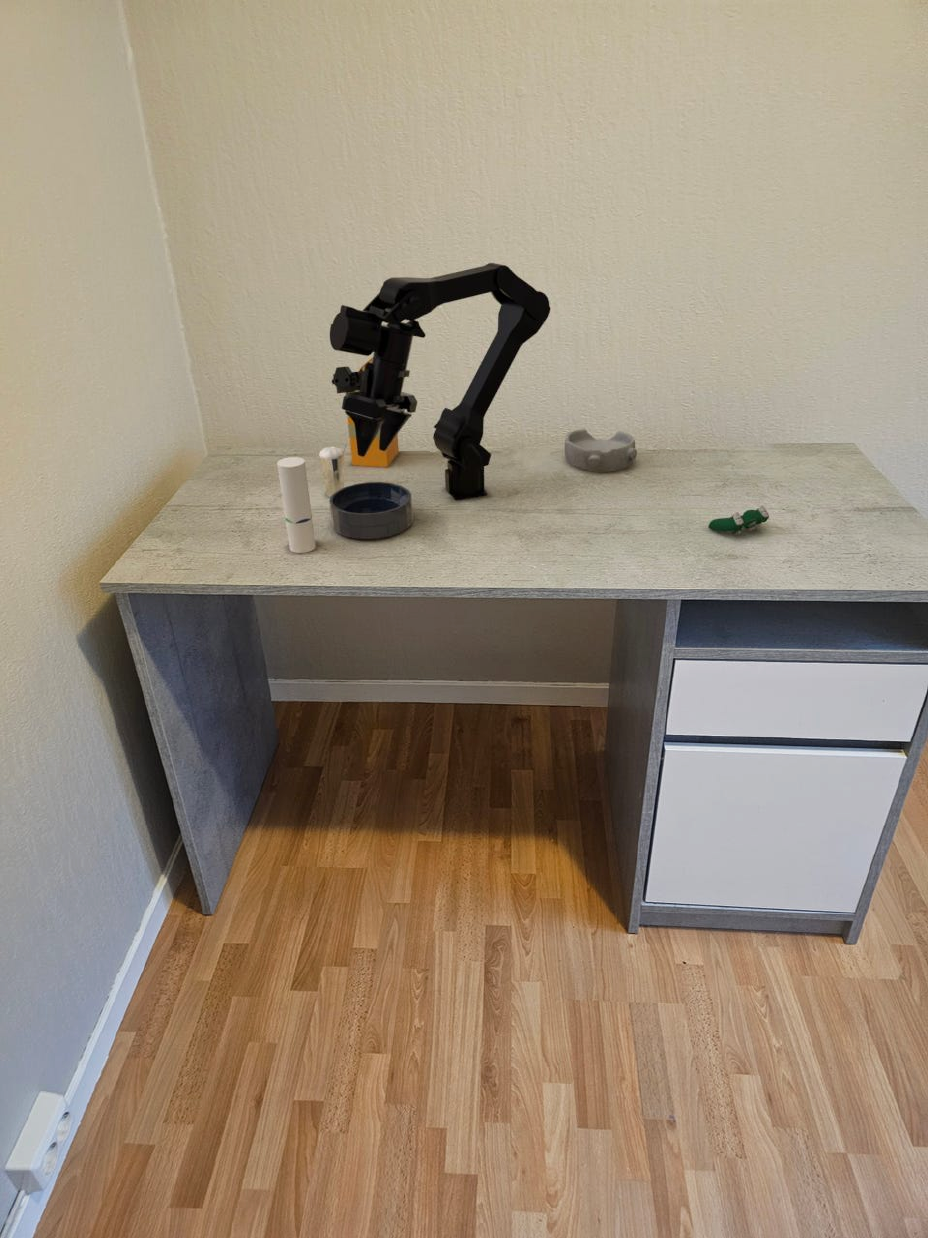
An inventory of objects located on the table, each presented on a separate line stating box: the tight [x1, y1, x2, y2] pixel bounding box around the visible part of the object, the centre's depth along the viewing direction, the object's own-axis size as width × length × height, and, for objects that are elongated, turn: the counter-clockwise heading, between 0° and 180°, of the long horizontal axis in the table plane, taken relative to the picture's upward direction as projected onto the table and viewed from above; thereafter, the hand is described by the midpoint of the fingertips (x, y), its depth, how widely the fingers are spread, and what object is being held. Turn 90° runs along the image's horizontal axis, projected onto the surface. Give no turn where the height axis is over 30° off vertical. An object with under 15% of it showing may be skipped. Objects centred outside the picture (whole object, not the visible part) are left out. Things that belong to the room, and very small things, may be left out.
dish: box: [564, 428, 638, 472], centre depth 168 cm, size 14×14×5 cm
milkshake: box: [318, 443, 348, 498], centre depth 156 cm, size 4×5×10 cm
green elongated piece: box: [707, 505, 770, 535], centre depth 140 cm, size 9×4×6 cm
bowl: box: [328, 481, 414, 540], centre depth 145 cm, size 14×14×5 cm
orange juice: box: [344, 356, 400, 468], centre depth 169 cm, size 8×9×20 cm
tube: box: [276, 456, 317, 554], centre depth 136 cm, size 4×4×15 cm
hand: (371, 453), depth 142 cm, fingers open, 9 cm apart
